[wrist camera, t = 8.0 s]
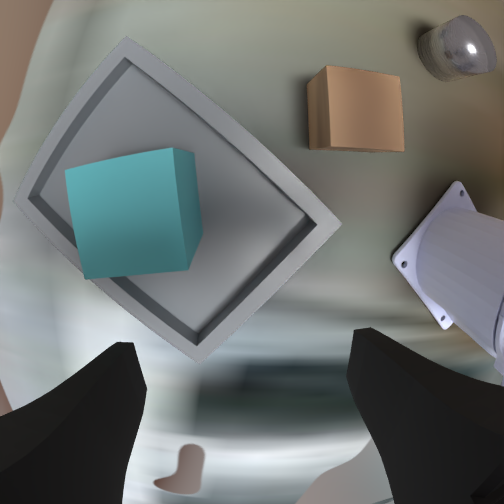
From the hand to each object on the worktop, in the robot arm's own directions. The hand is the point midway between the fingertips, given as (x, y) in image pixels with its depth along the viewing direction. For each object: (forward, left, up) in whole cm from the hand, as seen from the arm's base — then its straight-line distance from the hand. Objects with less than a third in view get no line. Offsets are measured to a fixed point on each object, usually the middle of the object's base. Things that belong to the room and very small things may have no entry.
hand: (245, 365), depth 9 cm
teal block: (+6, 0, -9) cm, 11 cm away
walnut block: (+2, -11, -10) cm, 15 cm away
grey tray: (+6, 0, -9) cm, 11 cm away
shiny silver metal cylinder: (0, -21, -10) cm, 23 cm away
